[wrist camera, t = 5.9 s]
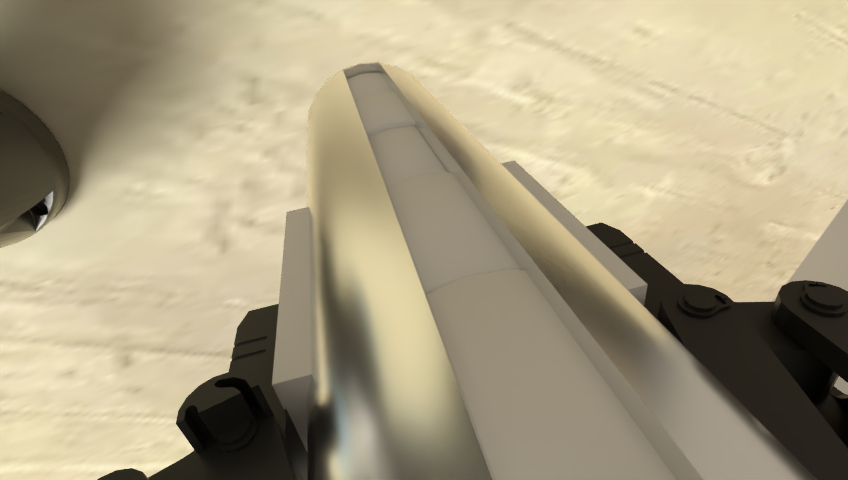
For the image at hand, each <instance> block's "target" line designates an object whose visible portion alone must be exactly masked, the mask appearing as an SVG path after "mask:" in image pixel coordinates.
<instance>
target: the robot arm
mask: <svg viewBox="0 0 848 480" xmlns="http://www.w3.org/2000/svg"><path fill="white" fill-rule="evenodd" d="M502 165H503V166H504V167H505V168H506V169H507V170H508V171H509V172H510V173H511V174H512V175H513V176H514V177H515V178H516V179H517V180H518V181H519V182H520V183H521V184H522V185H523V186H524V187H525V188H526V189H527V190H528V191H529V192H530V193H531V194H532V195H533V196H534V197H535V198H536V199H537V200H538V201H539V202H540V203H541V204H542V205H543V206H544V207H545V208H546V209H547V210H548V211H549V212H550V213H551V214H552V215H553V216H554V217H555V218H556V219H557V220H558V221H559V222H560V223H561V224H562V225H563V226H564V227H565V228H566V229H567V230H568V231H569V232H570V233H571V234H572V235H573V236H574V237H575V238H576V239H577V240H578V241H579V242H580V243H581V244H582V245H583V246H584V247H585V248H586V249H587V250H588V251H589V252H590V253H591V254H592V255H593V256H594V257H595V258H596V259H597V260H598V261H599V262H600V263H601V264H602V265H603V266H604V267H605V268H606V269H607V270H608V271H609V272H610V273H611V274H612V275H613V276H614V277H615V278H616V279H617V280H618V281H619V282H620V283H621V284H622V285H623V286H624V287H625V288H626V289H627V290H628V291H629V292H630V293H631V294H632V295H633V296H634V297H635V298H636V299H637V300H638V301H639V302H640V303H641V304H642V305H643V306H644V307H645V308H646V309H647V310H648V311H649V312H650V313H651V314H652V315H653V316H654V317H655V318H656V319H657V320H658V321H659V322H660V323H661V324H662V325H663V326H664V327H665V328H666V329H667V330H668V331H669V332H670V333H671V334H672V335H673V336H674V337H675V338H676V339H677V340H678V341H679V342H680V343H681V344H682V345H683V346H684V347H685V348H686V349H687V350H688V351H689V352H690V353H691V354H692V355H693V356H694V357H695V358H696V359H697V360H698V361H699V362H700V363H701V364H702V365H703V366H704V367H705V368H706V369H707V370H708V371H709V372H710V373H711V374H712V375H713V376H714V377H715V378H716V379H717V380H718V381H719V382H720V383H721V384H722V385H723V386H724V387H725V388H726V389H727V390H728V391H729V392H730V393H731V394H732V395H733V396H734V397H735V398H736V399H737V400H738V401H739V402H740V403H741V404H742V405H743V406H744V407H745V408H746V409H747V410H748V411H749V412H750V413H751V414H752V415H753V416H754V417H755V418H756V419H758V420H759V421H760V422H761V423H762V424H763V425H764V426H765V427H766V428H767V429H768V430H769V431H770V432H771V433H772V434H773V435H774V436H775V437H776V438H777V439H778V440H779V441H780V442H781V443H782V444H783V445H784V446H785V447H786V448H787V449H788V450H789V451H790V452H791V453H792V454H793V455H794V456H795V457H796V458H797V459H798V460H799V461H800V462H801V463H802V464H803V465H804V466H805V467H806V468H807V469H808V470H809V471H810V472H811V473H812V474H813V475H814V476H815V477H816V478H817V479H818V480H848V395H846V394H844V393H842V392H841V391H839V390H837V388H835V387H834V384H835V382H836V380H837V378H838V377H839V376H840V377H841V378H843V379H844V380H845V381H846V382H848V291H846V290H844V289H842V288H840V287H836V286H833V285H830V284H826V283H823V282H814V281H806V280H804V281H794V282H790V283H788V284H786V285H783V286H782V287H781V289H780V291H779V293H778V295H777V298H776V301H775V302H733V301H732V300H731V299H730V298H729V297H728V296H727V295H725V294H723V293H721V292H719V291H717V290H715V289H713V288H709V287H705V286H701V285H692V284H683V283H682V282H681V281H680V280H679V279H677V278H676V277H675V276H674V275H673V274H671V273H670V272H669V271H668V270H667V269H665V268H664V267H663V266H662V265H661V264H660V263H658V262H657V261H656V260H655V259H654V258H652V257H651V256H650V255H649V254H648V253H644V250H643V249H642V248H640V247H639V246H638V245H637V244H636V243H635V244H634V243H633V241H632V240H631V239H630V238H628V237H627V236H626V235H625V234H624V233H623V232H621V231H620V230H618V229H616V228H613V227H611V226H608V225H606V224H604V223H598V224H594V225H590V226H586V227H585V226H584V225H583V224H582V223H581V222H580V221H579V220H578V219H577V218H576V217H575V216H574V215H572V214H571V213H570V212H569V211H568V210H567V209H566V208H565V207H564V206H563V205H562V204H561V203H560V202H558V201H557V200H556V199H555V198H554V197H553V196H552V195H551V194H550V193H549V192H548V191H547V190H546V189H544V188H543V187H542V186H541V185H540V184H539V183H538V182H537V181H536V180H535V179H534V178H533V177H532V176H530V175H529V174H528V173H527V172H526V171H525V170H524V169H523V168H522V167H521V166H520V165H519V164H518V163H516V162H515V161H510V162H506V163H502ZM68 189H69V173H68V168H67V164H66V160H65V158H64V155H63V153H62V150H61V148H60V146H59V145H58V143H57V141H56V140H55V138H54V137H53V135H52V134H51V132H50V131H49V130H48V129H47V127H46V126H45V125H44V124H43V123H42V122H41V121H40V120H39V119H38V117H36V116H35V115H34V114H33V113H32V112H31V111H30V110H29V109H28V108H26V107H25V106H24V105H23V104H21V103H20V102H19V101H17V100H16V99H14V98H13V97H11V96H10V95H8V94H7V93H5V92H3V91H2V90H0V248H2V247H5V246H8V245H11V244H14V243H17V242H20V241H22V240H24V239H26V238H28V237H30V236H32V235H33V234H35V233H36V232H38V231H39V230H40V229H42V228H43V227H44V226H45V225H46V224H47V223H48V222H49V221H50V220H51V219H52V218H53V217H55V215H56V214H57V213H58V212H59V211H60V209H61V208H62V206H63V204H64V202H65V200H66V197H67V194H68ZM234 345H235V347H234V348H233V353H232V361H231V363H230V369H229V372H228V373H225V374H222V375H219V376H216V377H213V378H211V379H210V380H208V381H206V382H205V383H203V384H201V385H200V386H198V387H197V388H196V389H195V390H194V391H193V392H192V393H191V394H190V395H189V396H188V397H187V398H186V400H185V401H184V403H183V404H182V406H181V408H180V409H179V411H178V416H177V421H176V424H177V426H178V427H179V429H180V430H181V431H182V433H183V434H184V436H185V437H186V438H187V440H188V441H189V443H190V444H191V445H192V447H193V448H194V451H193V452H192V453H190V454H189V455H187V456H186V457H184V458H183V459H181V460H179V461H177V462H176V463H174V464H172V465H170V466H168V467H167V468H165V469H163V470H161V471H159V472H158V473H156V474H154V475H152V476H150V477H149V478H147V477H146V475H145V474H144V473H143V472H141V471H138V470H135V469H132V468H130V469H123V470H116V471H114V472H112V473H110V474H108V475H105V476H103V477H101V478H99V479H98V480H307V396H308V390H309V385H310V379H311V309H310V233H309V207H307V208H302V209H298V210H294V211H289V212H287V216H286V227H285V239H284V250H283V262H282V273H281V285H280V296H279V304H276V305H272V306H268V307H264V308H260V309H256V310H252V311H249V312H248V313H247V315H246V316H245V318H244V319H243V321H242V322H241V323H240V325H239V326H238V328H237V333H236V338H235V343H234Z"/></svg>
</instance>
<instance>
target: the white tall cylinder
mask: <svg viewBox="0 0 848 480" xmlns="http://www.w3.org/2000/svg"><path fill="white" fill-rule="evenodd" d="M307 207H309V233H310V309H311V379H310V385H309V390H308V396H307V480H818V479H817V478H816V477H815V476H814V475H813V474H812V473H811V472H810V471H809V470H808V469H807V468H806V467H805V466H804V465H803V464H802V463H801V462H800V461H799V460H798V459H797V458H796V457H795V456H794V455H793V454H792V453H791V452H790V451H789V450H788V449H787V448H786V447H785V446H784V445H783V444H782V443H781V442H780V441H779V440H778V439H777V438H776V437H775V436H774V435H773V434H772V433H771V432H770V431H769V430H768V429H767V428H766V427H765V426H764V425H763V424H762V423H761V422H760V421H759V420H758V419H756V418H755V417H754V416H753V415H752V414H751V413H750V412H749V411H748V410H747V409H746V408H745V407H744V406H743V405H742V404H741V403H740V402H739V401H738V400H737V399H736V398H735V397H734V396H733V395H732V394H731V393H730V392H729V391H728V390H727V389H726V388H725V387H724V386H723V385H722V384H721V383H720V382H719V381H718V380H717V379H716V378H715V377H714V376H713V375H712V374H711V373H710V372H709V371H708V370H707V369H706V368H705V367H704V366H703V365H702V364H701V363H700V362H699V361H698V360H697V359H696V358H695V357H694V356H693V355H692V354H691V353H690V352H689V351H688V350H687V349H686V348H685V347H684V346H683V345H682V344H681V343H680V342H679V341H678V340H677V339H676V338H675V337H674V336H673V335H672V334H671V333H670V332H669V331H668V330H667V329H666V328H665V327H664V326H663V325H662V324H661V323H660V322H659V321H658V320H657V319H656V318H655V317H654V316H653V315H652V314H651V313H650V312H649V311H648V310H647V309H646V308H645V307H644V306H643V305H642V304H641V303H640V302H639V301H638V300H637V299H636V298H635V297H634V296H633V295H632V294H631V293H630V292H629V291H628V290H627V289H626V288H625V287H624V286H623V285H622V284H621V283H620V282H619V281H618V280H617V279H616V278H615V277H614V276H613V275H612V274H611V273H610V272H609V271H608V270H607V269H606V268H605V267H604V266H603V265H602V264H601V263H600V262H599V261H598V260H597V259H596V258H595V257H594V256H593V255H592V254H591V253H590V252H589V251H588V250H587V249H586V248H585V247H584V246H583V245H582V244H581V243H580V242H579V241H578V240H577V239H576V238H575V237H574V236H573V235H572V234H571V233H570V232H569V231H568V230H567V229H566V228H565V227H564V226H563V225H562V224H561V223H560V222H559V221H558V220H557V219H556V218H555V217H554V216H553V215H552V214H551V213H550V212H549V211H548V210H547V209H546V208H545V207H544V206H543V205H542V204H541V203H540V202H539V201H538V200H537V199H536V198H535V197H534V196H533V195H532V194H531V193H530V192H529V191H528V190H527V189H526V188H525V187H524V186H523V185H522V184H521V183H520V182H519V181H518V180H517V179H516V178H515V177H514V176H513V175H512V174H511V173H510V172H509V171H508V170H507V169H506V168H505V167H504V166H503V165H502V164H501V163H500V162H499V161H498V160H497V159H496V158H495V157H494V156H493V155H492V154H491V153H490V152H489V151H488V150H487V149H486V148H485V147H484V146H483V145H482V144H481V143H480V142H479V141H478V140H477V139H476V138H475V137H474V136H473V135H472V134H471V133H470V132H469V131H468V130H467V129H466V128H465V127H464V126H463V125H462V124H461V123H460V122H459V121H458V120H457V119H456V118H455V117H454V116H453V115H452V114H451V113H450V112H449V111H448V110H447V109H446V108H445V107H444V106H443V105H442V104H441V103H440V102H439V101H438V100H437V99H436V98H435V97H434V96H433V95H432V94H431V93H430V92H429V91H428V90H427V89H426V88H425V87H424V86H423V85H422V84H421V83H420V82H419V81H418V80H417V79H416V78H415V77H414V76H413V75H411V74H409V73H408V72H406V71H404V70H402V69H400V68H398V67H397V66H393V65H388V64H384V63H380V62H375V63H359V64H357V65H354V66H351V67H348V68H345V69H342V70H341V71H339V72H338V73H337V74H335V75H334V76H332V77H331V78H329V79H328V80H327V81H326V82H325V83H324V85H323V86H322V87H321V88H320V90H319V91H318V92H317V93H316V95H315V97H314V100H313V102H312V104H311V107H310V109H309V113H308V120H307Z"/></svg>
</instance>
